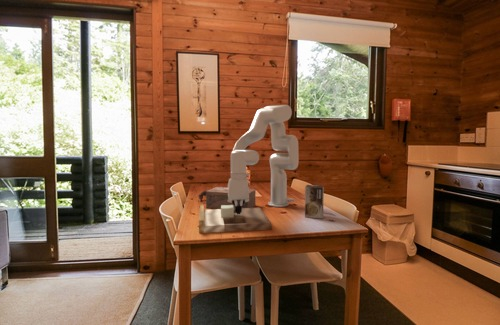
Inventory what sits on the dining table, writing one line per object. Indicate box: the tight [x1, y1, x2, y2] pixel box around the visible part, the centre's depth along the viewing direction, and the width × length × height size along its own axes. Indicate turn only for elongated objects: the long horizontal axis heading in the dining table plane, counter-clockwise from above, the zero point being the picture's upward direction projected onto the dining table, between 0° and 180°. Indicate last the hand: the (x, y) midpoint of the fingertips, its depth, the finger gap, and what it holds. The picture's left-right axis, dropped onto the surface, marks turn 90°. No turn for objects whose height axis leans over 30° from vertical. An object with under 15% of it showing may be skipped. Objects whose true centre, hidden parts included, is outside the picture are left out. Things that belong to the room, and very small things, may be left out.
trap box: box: [198, 204, 272, 234], centre depth 136 cm, size 32×27×6 cm
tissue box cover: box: [205, 186, 256, 209], centre depth 166 cm, size 26×14×10 cm, turn 72°
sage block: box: [221, 205, 234, 218], centre depth 136 cm, size 6×6×4 cm
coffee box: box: [304, 184, 325, 219], centre depth 145 cm, size 9×6×16 cm
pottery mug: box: [197, 189, 209, 201], centre depth 181 cm, size 12×10×8 cm
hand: (238, 213), depth 136 cm, fingers closed
